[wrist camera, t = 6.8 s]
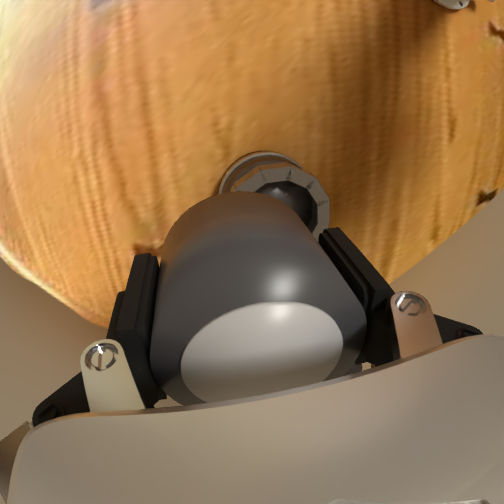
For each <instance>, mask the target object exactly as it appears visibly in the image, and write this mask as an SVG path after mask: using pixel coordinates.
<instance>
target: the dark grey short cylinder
mask: <svg viewBox="0 0 504 504" xmlns="http://www.w3.org/2000/svg"><path fill="white" fill-rule="evenodd" d="M366 333H367V321H366V315H365V312H364V309H363V307H362V305H361V303H360V302H359V300H358V299H357V297H356V296H355V294H354V293H353V291H352V290H351V289H350V287H349V286H348V284H347V283H346V281H345V280H344V278H343V277H342V276H341V274H340V273H339V271H338V270H337V268H336V267H335V266H334V264H333V263H332V261H331V260H330V259H329V257H328V256H327V254H326V253H325V252H324V250H323V249H322V247H321V246H320V245H319V243H318V242H317V240H316V239H315V238H314V236H313V235H312V234H311V232H310V231H309V230H308V228H307V227H306V225H305V224H304V223H303V221H302V220H301V219H300V217H299V216H298V215H297V214H296V213H295V212H294V211H293V210H292V209H291V208H290V207H289V206H287V205H286V204H285V203H283V202H281V201H279V200H278V199H276V198H274V197H271V196H268V195H265V194H261V193H256V192H248V191H236V192H227V193H222V194H218V195H215V196H212V197H209V198H207V199H205V200H203V201H201V202H199V203H197V204H195V205H194V206H192V207H191V208H189V209H188V210H187V211H186V212H185V213H184V214H182V215H181V216H180V218H179V219H178V220H177V221H176V222H175V223H174V225H173V226H172V228H171V229H170V231H169V233H168V235H167V237H166V239H165V242H164V245H163V249H162V255H161V262H160V269H159V276H158V283H157V291H156V299H155V308H154V317H153V326H152V337H151V348H150V365H151V370H152V373H153V375H154V378H155V380H156V381H157V383H158V385H159V386H160V387H161V388H162V390H163V391H164V392H165V393H166V394H167V395H169V396H170V397H171V398H172V399H174V400H175V401H177V402H178V403H180V404H182V405H184V406H185V405H195V404H204V403H212V402H219V401H226V400H233V399H239V398H246V397H252V396H257V395H263V394H268V393H274V392H279V391H284V390H288V389H293V388H298V387H302V386H306V385H311V384H315V383H319V382H323V381H327V380H331V379H335V378H339V377H342V376H344V375H345V374H346V372H347V371H348V370H349V369H350V368H351V367H352V365H353V364H354V362H355V361H356V359H357V358H358V356H359V354H360V352H361V350H362V348H363V345H364V342H365V338H366Z"/></svg>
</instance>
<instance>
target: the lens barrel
mask: <svg viewBox="0 0 504 504" xmlns="http://www.w3.org/2000/svg"><path fill="white" fill-rule="evenodd" d="M236 191H248V192H256V193H261V194H265V195H268V196H271V197H274V198H276V199H278V200H279V201H281V202H283V203H285V204H286V205H287V206H289V207H290V208H291V209H292V210H293V211H294V212H295V213H296V214H297V215H298V216H299V217H300V219H301V220H302V221H303V223H304V224H305V225H306V227H307V228H308V230H309V231H310V232H311V234H312V235H313V236H314V238H315V239H316V240H317V242H318V238H319V234H320V233H323V230H324V229H327V228H328V227H329V220H330V199H329V198H328V196H327V194H326V193H325V191H324V189H323V188H322V186H321V185H320V183H319V181H318V180H317V178H316V177H314V176H313V175H312V174H311V173H309V172H307V171H305V170H304V169H303V168H302V167H301V166H300V165H299V164H298V163H297V162H296V161H295V160H293V159H292V158H290V157H288V156H286V155H284V154H281V153H277V152H273V151H255V152H251V153H248V154H246V155H244V156H242V157H240V158H239V159H237V160H236V161H235V162H234V163H232V164H231V166H230V167H229V168H228V169H227V170H226V172H225V174H224V175H223V177H222V180H221V183H220V187H219V192H218V194H222V193H227V192H236Z"/></svg>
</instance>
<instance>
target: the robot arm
mask: <svg viewBox="0 0 504 504" xmlns="http://www.w3.org/2000/svg"><path fill="white" fill-rule="evenodd" d="M433 1H434V2H436V3H437V4H439V5H441V6H443V7H445V8H448V9H452V10H457V9H463V8H465V7H466V6H467V5H468V4H469V2H470V0H433ZM488 1H490V2H493V1H495V0H488ZM318 243H319V245H320V246H321V247H322V249H323V250H324V252H325V253H326V254H327V256H328V257H329V259H330V260H331V261H332V263H333V264H334V266H335V267H336V268H337V270H338V271H339V273H340V274H341V276H342V277H343V278H344V280H345V281H346V283H347V284H348V286H349V287H350V289H351V290H352V291H353V293H354V294H355V296H356V297H357V299H358V300H359V302H360V303H361V305H362V307H363V309H364V312H365V315H366V321H367V333H366V338H365V342H364V345H363V348H362V350H361V352H360V354H359V356H358V358H357V359H356V361H355V364H356V365H358V364H361V363H365V362H369V363H371V369H367V370H364V371H360V372H357V373H353V374H350V375H346V376H342V377H339V378H335V379H331V380H327V381H323V382H319V383H315V384H311V385H306V386H302V387H298V388H293V389H288V390H284V391H279V392H274V393H268V394H263V395H257V396H252V397H246V398H239V399H233V400H226V401H219V402H212V403H204V404H195V405H185V406H175V407H162V408H155V407H154V404H155V403H156V402H158V401H159V400H161V399H166V398H167V394H166V393H165V392H164V391H163V390H162V388H161V387H160V386H159V385H158V383H157V381H156V380H155V378H154V375H153V373H152V370H151V365H150V348H151V337H152V326H153V317H154V308H155V299H156V291H157V283H158V276H159V269H160V268H159V264H158V260H157V257H156V256H151V254H150V253H145V254H138V255H135V257H134V260H133V264H132V268H131V271H130V275H129V278H128V282H127V286H126V290H125V291H121V292H119V293H118V295H117V298H116V302H115V305H114V309H113V313H112V317H111V321H110V325H109V329H108V333H107V337H106V339H103V340H99V341H96V342H94V343H92V344H91V345H89V346H88V347H87V348H86V349H85V350H84V352H83V353H82V356H81V358H80V365H81V370H82V371H81V372H80V373H79V374H77V375H76V376H75V377H73V378H72V379H71V380H69V381H68V382H67V383H66V384H64V385H63V386H62V387H60V388H59V389H58V390H57V391H55V392H54V393H53V394H51V395H50V396H49V397H48V398H46V399H45V400H44V401H42V402H41V403H40V404H39V405H38V406H37V407H36V409H35V411H34V413H33V417H32V422H31V423H29V422H27V421H26V422H25V423H23V424H22V425H21V426H19V427H18V428H17V429H15V430H14V431H13V432H12V433H10V434H9V435H8V436H7V437H5V438H4V439H2V440H1V441H0V493H1V495H2V497H3V499H4V501H5V503H6V504H504V336H500V335H493V334H487V335H485V334H483V333H482V332H481V331H480V330H479V329H477V328H475V327H473V326H470V325H467V324H464V323H461V322H457V321H454V320H451V319H448V318H445V317H441V316H438V315H435V314H433V312H432V309H431V306H430V304H429V302H428V300H427V299H426V298H425V297H423V296H422V295H420V294H418V293H415V292H412V291H400V292H397V293H395V292H394V291H393V290H392V289H391V287H390V286H389V284H388V283H387V282H386V281H385V280H384V278H383V277H382V276H381V275H380V274H379V272H378V271H377V270H376V269H375V268H374V267H373V265H372V264H371V263H370V262H369V261H368V260H367V258H366V257H365V256H364V255H363V254H362V253H361V252H360V250H359V249H358V248H357V247H356V246H355V245H354V244H353V243H352V241H351V240H350V239H349V238H348V237H347V236H346V235H345V234H344V233H343V232H342V230H341V229H340V228H338V227H336V228H328V229H324V230H323V233H320V234H319V238H318Z"/></svg>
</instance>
